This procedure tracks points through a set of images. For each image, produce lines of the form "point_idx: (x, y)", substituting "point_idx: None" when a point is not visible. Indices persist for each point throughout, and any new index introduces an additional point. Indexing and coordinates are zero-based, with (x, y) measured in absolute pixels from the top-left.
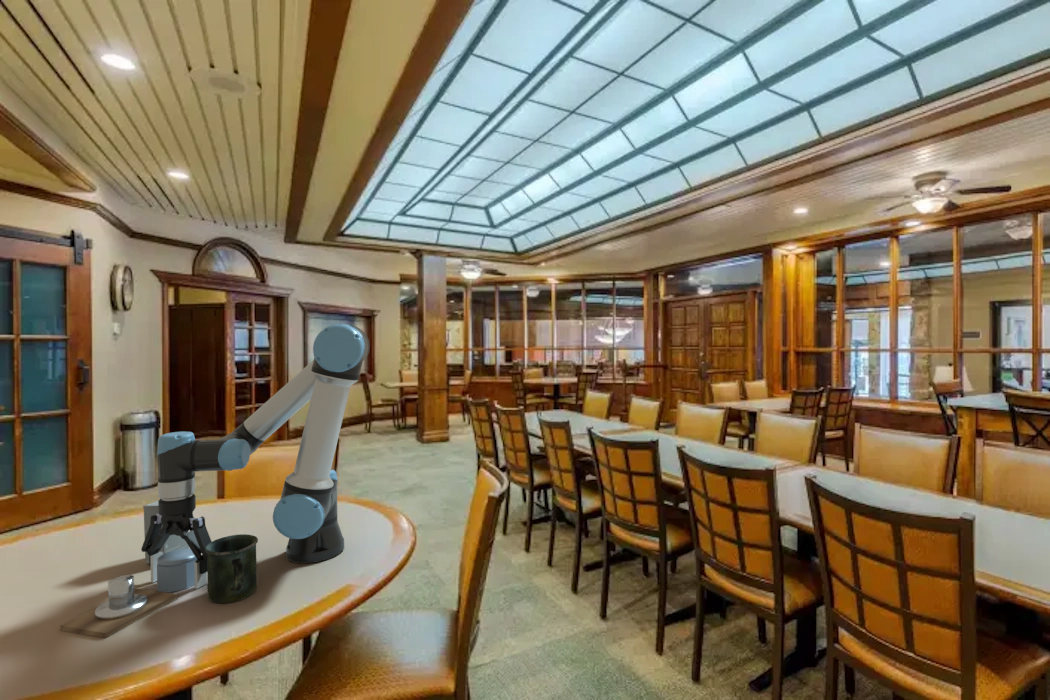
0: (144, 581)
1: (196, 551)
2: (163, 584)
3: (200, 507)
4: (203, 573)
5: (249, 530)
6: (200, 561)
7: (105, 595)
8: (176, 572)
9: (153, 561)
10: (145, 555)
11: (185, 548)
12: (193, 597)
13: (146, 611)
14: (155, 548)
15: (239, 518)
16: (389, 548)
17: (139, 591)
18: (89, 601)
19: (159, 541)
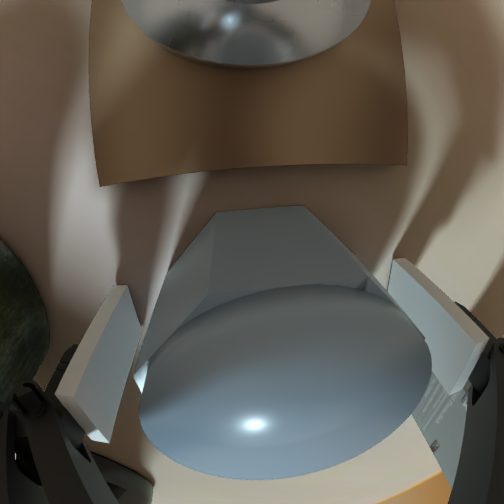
0: (436, 257)
1: (38, 461)
2: (262, 221)
3: None
4: (73, 347)
5: (342, 485)
6: (57, 401)
7: (476, 121)
8: (179, 300)
9: (455, 324)
10: None
11: (422, 421)
12: (56, 222)
13: (91, 11)
14: (493, 392)
15: (395, 479)
16: None
17: (359, 139)
18: (481, 73)
19: (494, 459)
